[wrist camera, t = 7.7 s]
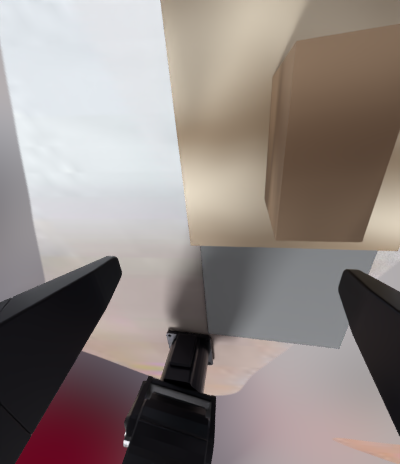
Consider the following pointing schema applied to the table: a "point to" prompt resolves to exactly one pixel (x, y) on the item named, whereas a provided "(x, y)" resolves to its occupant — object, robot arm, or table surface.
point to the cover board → (239, 110)
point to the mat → (279, 292)
